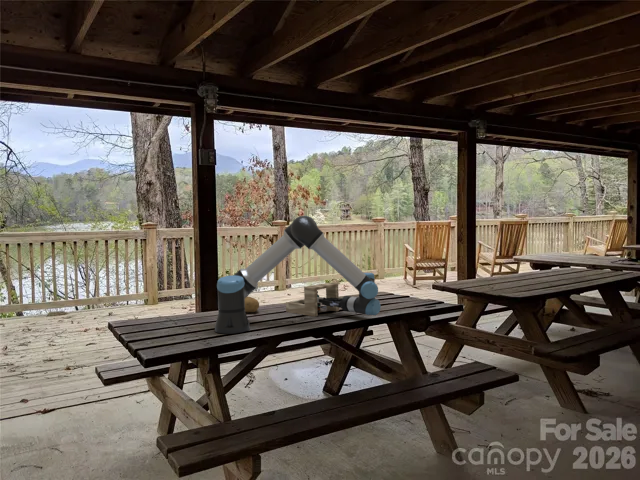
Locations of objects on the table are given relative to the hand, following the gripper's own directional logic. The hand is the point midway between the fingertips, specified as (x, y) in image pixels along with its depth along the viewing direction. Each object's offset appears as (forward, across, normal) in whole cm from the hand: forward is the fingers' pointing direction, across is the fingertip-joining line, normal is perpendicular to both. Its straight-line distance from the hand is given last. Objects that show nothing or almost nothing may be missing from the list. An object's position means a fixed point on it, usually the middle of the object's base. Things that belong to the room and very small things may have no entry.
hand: (316, 299), depth 241 cm
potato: (+28, -21, -7) cm, 36 cm away
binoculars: (+4, 0, -7) cm, 8 cm away
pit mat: (+3, +14, -6) cm, 16 cm away
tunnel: (+3, 0, -6) cm, 7 cm away
